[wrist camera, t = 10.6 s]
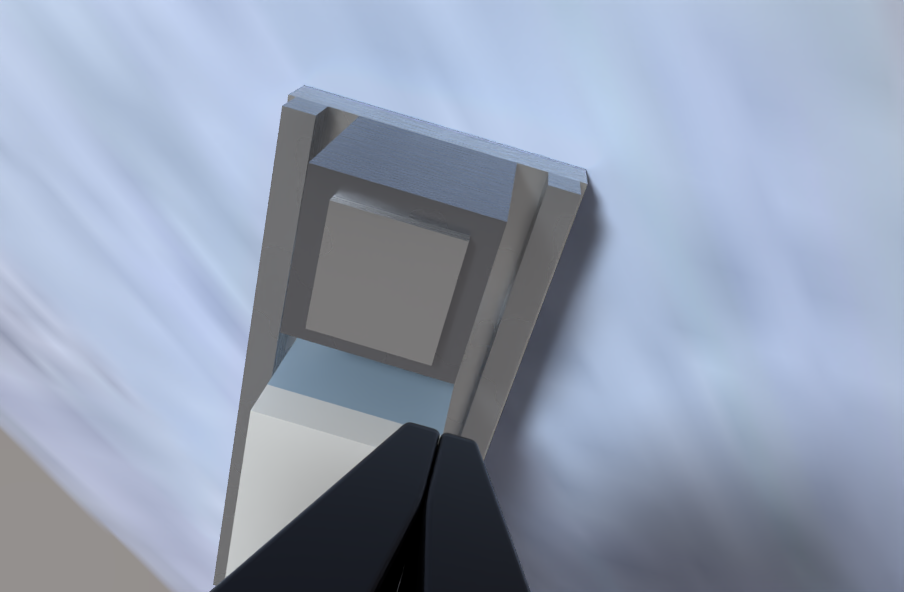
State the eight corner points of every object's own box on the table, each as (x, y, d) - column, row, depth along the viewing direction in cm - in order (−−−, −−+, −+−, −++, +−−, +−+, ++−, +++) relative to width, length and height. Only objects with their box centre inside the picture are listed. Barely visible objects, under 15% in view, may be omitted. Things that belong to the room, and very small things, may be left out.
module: (462, 346, 20) (435, 465, 15) (413, 497, 22) (379, 634, 18) (318, 303, 20) (250, 410, 15) (288, 460, 22) (223, 588, 18)
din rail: (585, 169, 18) (596, 254, 13) (428, 592, 26) (400, 742, 21) (304, 84, 18) (212, 140, 13) (233, 535, 26) (160, 671, 21)
